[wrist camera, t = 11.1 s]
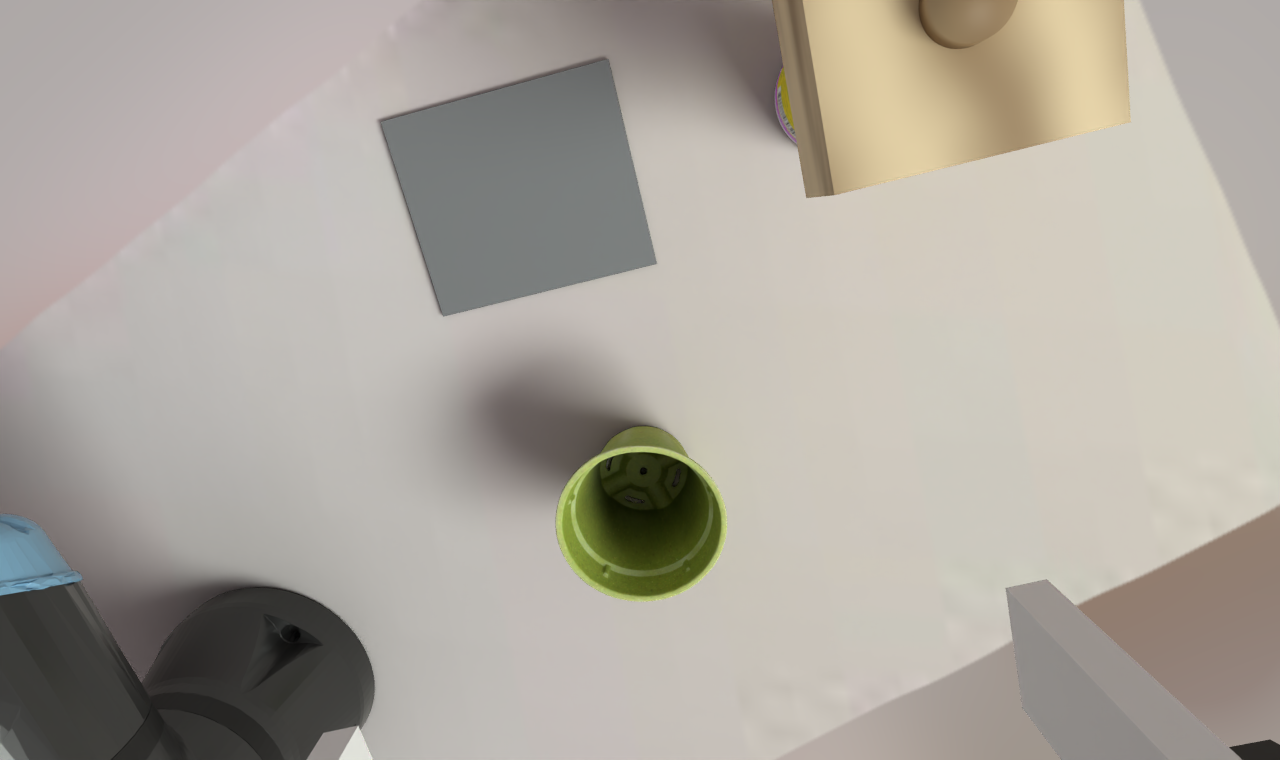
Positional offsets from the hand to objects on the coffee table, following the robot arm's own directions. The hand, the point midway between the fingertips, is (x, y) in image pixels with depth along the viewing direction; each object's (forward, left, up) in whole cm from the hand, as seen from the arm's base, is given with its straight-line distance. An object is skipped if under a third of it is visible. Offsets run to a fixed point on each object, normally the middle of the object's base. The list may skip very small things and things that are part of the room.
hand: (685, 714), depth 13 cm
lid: (+13, +14, -18) cm, 26 cm away
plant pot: (-3, -6, -31) cm, 31 cm away
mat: (-6, +13, -30) cm, 33 cm away
